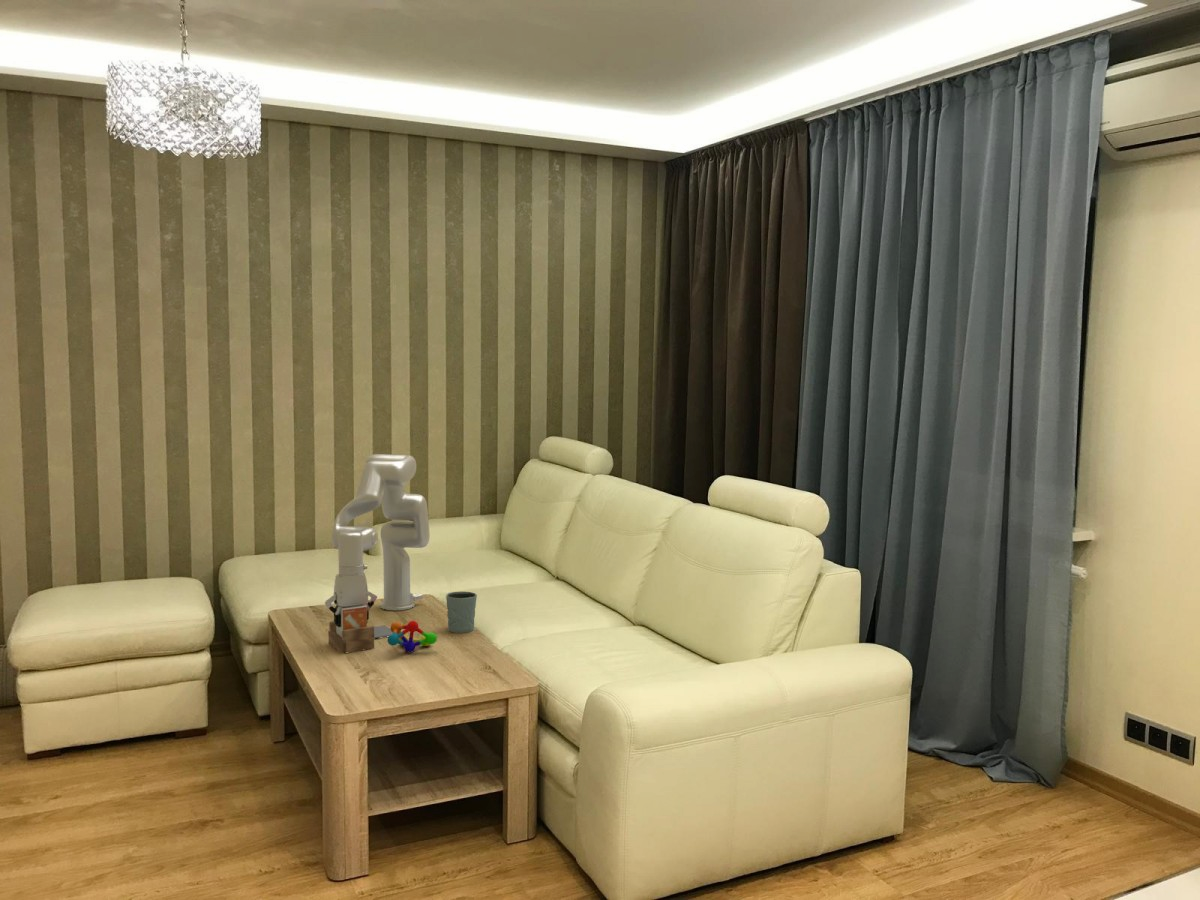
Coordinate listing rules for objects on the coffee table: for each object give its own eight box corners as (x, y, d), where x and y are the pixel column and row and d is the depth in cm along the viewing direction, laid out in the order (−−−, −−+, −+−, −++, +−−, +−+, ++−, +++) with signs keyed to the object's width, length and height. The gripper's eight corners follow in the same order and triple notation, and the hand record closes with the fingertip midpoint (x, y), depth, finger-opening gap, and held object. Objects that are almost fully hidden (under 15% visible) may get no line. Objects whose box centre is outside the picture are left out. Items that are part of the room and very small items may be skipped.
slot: (359, 638, 334) (359, 617, 334) (374, 648, 324) (374, 626, 323) (328, 643, 329) (328, 621, 328) (342, 653, 318) (342, 631, 317)
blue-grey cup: (440, 630, 344) (440, 595, 343) (458, 623, 353) (458, 589, 352) (465, 635, 340) (465, 599, 338) (482, 627, 348) (482, 593, 347)
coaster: (384, 626, 348) (384, 625, 348) (398, 635, 338) (398, 633, 338) (350, 632, 341) (350, 630, 341) (363, 641, 331) (363, 639, 331)
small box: (343, 650, 321) (342, 609, 320) (336, 645, 327) (335, 605, 325) (367, 646, 326) (367, 606, 324) (360, 641, 331) (360, 601, 330)
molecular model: (388, 657, 326) (387, 649, 312) (388, 627, 329) (387, 618, 315) (436, 655, 329) (437, 647, 315) (436, 625, 332) (437, 616, 318)
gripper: (372, 565, 332) (373, 617, 333) (320, 571, 322) (320, 625, 324) (381, 569, 325) (382, 623, 327) (327, 575, 316) (328, 630, 318)
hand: (351, 623), depth 325 cm, fingers closed on small box, 8 cm apart
